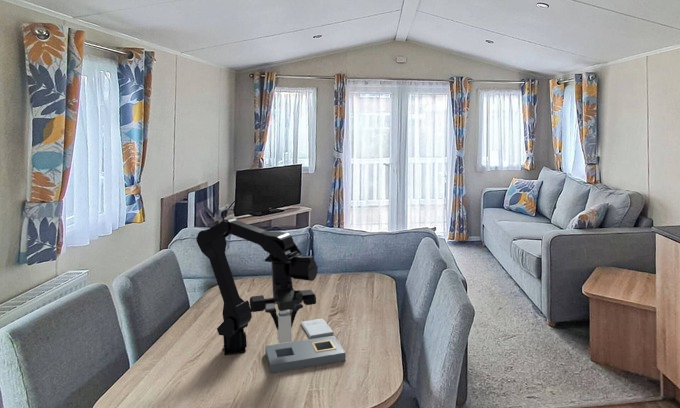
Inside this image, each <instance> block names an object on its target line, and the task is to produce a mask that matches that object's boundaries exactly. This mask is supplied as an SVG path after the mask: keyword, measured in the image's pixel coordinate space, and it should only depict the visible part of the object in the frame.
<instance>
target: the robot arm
mask: <svg viewBox="0 0 680 408" xmlns="http://www.w3.org/2000/svg"><path fill="white" fill-rule="evenodd" d="M230 235H232V236H235V237H237V238H240V239H243V240H246V241H248V242H250V243H253V244H255V245H258V246H260V247H261V248H262V250H263V251H265V252H266V253H268V255H267V256H266V258H265V259H264V262H265V263H267V262H268V263H271V279H272V281H271V282H272V283H271V284H272V285H271V287H272V297H269V298H265V297H264V294H261V295H253V296H250V298H249V299H248V300H245V301H244V299H243V298H242V297H240V296H241V295H239V291H238V288H237V285H236V283H235V279H234V277H233V273H232V270H231V267H230V264H229V262H228V259H227V256H226V250H227V240H226V238H228V237H229V236H230ZM195 239H196V243H197V247H199V250H200V251H201V253H202V254H203V255H204V256H206V258H208V260H209V262H210V265H211V268H212V271H213V274H214V278H215V280H216V284H217V285H218V290H219V292H220V295H221V298H222V301H223V307H222V313H221V314H222V319H223V320H222V323H221V324H220V325H219V326H218V327H217V328H216V330H217V333H218V335H219V336H223V337H222V338H223V355H224V356H227V355H232V354H233V355H234V354H240V353H246V351H247V350H246V348H247V345H248V343H247V333H246V332H245V330H244V329H245V328H247V327H248V326H249V323H250V322H251V319H252V318H253V314H252V313H257V312H258V313H259V312H264V310H265V313H267V314H270V315H271V317H272V320H273V322H274V325H275V328H276V331H277V330H278V320H277V309H278V311H284V310H287V311H289V313H290V315H291V329H292V328H293V325H294V322H295V319H296V316H297V313H298V311H299V310H300V309H303V307H304V306H303V304H304V305H305V306H310V305H316V304H317V297H316V293H315V292H314V291H313V290H312V289H304V290H301V289H298V290H296V289H295V290H294V286H293V280H300V281H309V282H313V281H315V279H316V278H317V276H318V275H317V274H318V269H319V268H318V267H319V266H317V262H316V261H315V260H314V256H313V255H307V256H305V255H302V254H303V253H302V252H301V250H300V249H299V248H298V246H297V244H296V243H295V242H294V238H293V236H292V235H291V234H290V233H288V232H284V231H275V230H274V231H273V230H271V231H270V230H266V229H262V228H259V227H258V226H257V227H256V226H255V225H251V224H249V223H246V222H243V221H242V220H241V221H240V220H238V219H237V218H235V217H231V218H226V219H225V218H224V219H222V220H221V221H220V222H218V223H217V224H215V225H213V226H212V227H210V228H207V229H203V230H202V229H201V230H200V231H199V232H198V234H197V236H196V238H195ZM289 252H290V253H289ZM276 305H277V309H276V307H275V306H276Z"/></svg>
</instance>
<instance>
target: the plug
mask: <svg viewBox="0 0 680 408" xmlns="http://www.w3.org/2000/svg"><path fill="white" fill-rule="evenodd" d="M276 314H277V320H278V330H277V329H276V331H277V332H276V333H277V341H278V344H282V343H288V342H293V340H292V339H293V338H292V328H291V315H290V310H284V311H280V310H278V311H276Z"/></svg>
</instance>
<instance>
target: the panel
mask: <svg viewBox="0 0 680 408" xmlns="http://www.w3.org/2000/svg"><path fill="white" fill-rule="evenodd" d="M264 347H265V348H264V349H265V357H266V360H267V363H268V367H269V368H268V369H269V371H270V374H272V373H273V374H274V373H279V372H280V373H281V372H285V371H291V370H298V369H303V368H310V367H316V366H320V365H327V364H328V365H329V364H333V363H339V362H344V361H346V351H345V349H343V347H342V346H341V344H340V342H339V341H338V339H337V338H336V336H335V335H330V336H324V337H319V338H313V339H310V338H309V339H308V338H307V339H303V340H296V341H292V342H285V343H276V344H270V345H265V346H264Z"/></svg>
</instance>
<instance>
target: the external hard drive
mask: <svg viewBox="0 0 680 408" xmlns="http://www.w3.org/2000/svg"><path fill="white" fill-rule="evenodd" d="M300 325H301V326H302V328H303V330H304V331H305V332H306V334H307V336H308V337H309V339H315V338H322V337H328V336H335V333H334V332H335V331H334V330H332V329H331V327H330V326H329V324H328V323H327V322H326V321H325V320H324V319H323V318H317V319H310V320H304V321H303V320H302V321H301V322H300Z"/></svg>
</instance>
